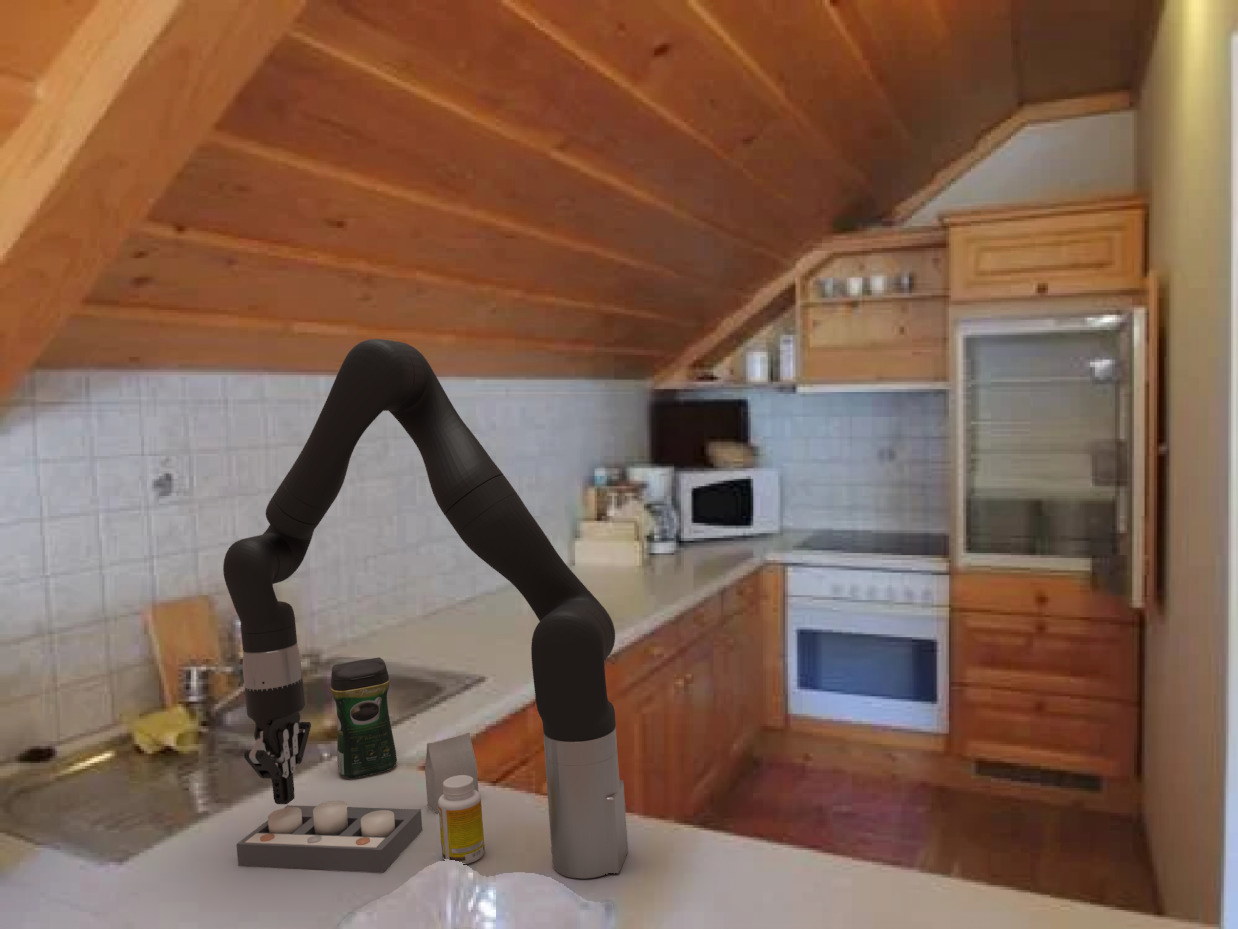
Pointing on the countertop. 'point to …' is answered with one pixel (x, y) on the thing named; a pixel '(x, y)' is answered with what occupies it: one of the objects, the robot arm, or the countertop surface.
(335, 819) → the middle button
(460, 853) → the supplement bottle
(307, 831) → the button board
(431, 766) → the grey carton box
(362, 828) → the button
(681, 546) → the countertop surface
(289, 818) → the button
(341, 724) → the coffee jar
